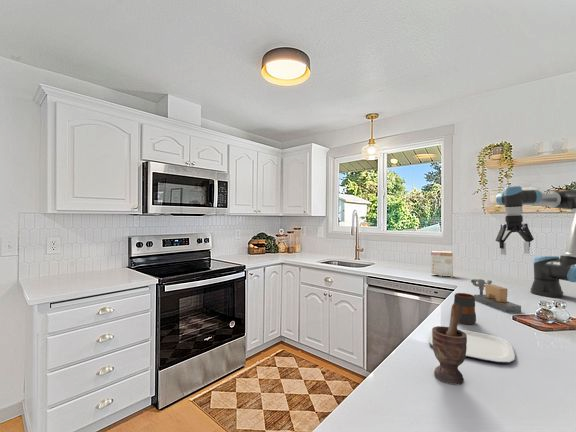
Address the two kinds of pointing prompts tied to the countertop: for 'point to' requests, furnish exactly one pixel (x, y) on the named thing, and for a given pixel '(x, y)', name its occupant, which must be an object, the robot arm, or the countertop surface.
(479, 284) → the mechanical component
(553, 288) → the robot arm
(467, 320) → the mug
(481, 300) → the rail
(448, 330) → the mortar and pestle
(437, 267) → the coffeecake box
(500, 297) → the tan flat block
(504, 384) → the countertop surface
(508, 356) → the plate
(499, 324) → the countertop surface
